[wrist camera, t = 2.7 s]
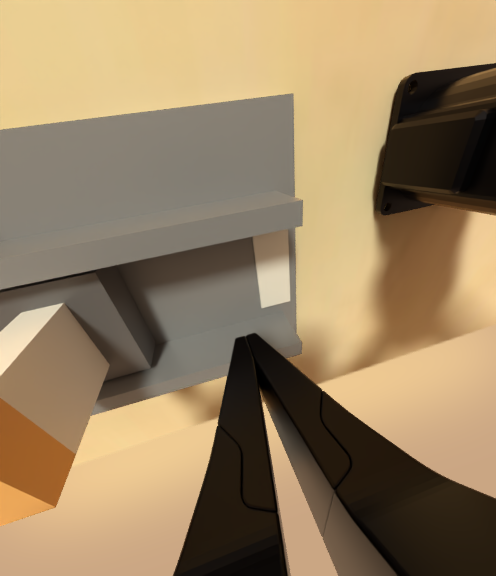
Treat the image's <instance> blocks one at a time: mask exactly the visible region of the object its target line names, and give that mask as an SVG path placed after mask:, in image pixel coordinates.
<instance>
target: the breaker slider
mask: <svg viewBox="0 0 496 576" xmlns="http://www.w3.org/2000/svg"><path fill="white" fill-rule="evenodd" d="M155 343H156V342H155V340H154V338H153V336H152V334H151V332H150V330H149V328H148V327H147V325H146V323H145V321H144V319H143V317H142V315H141V313H140V311H139V309H138V307H137V305H136V303H135V301H134V299H133V297H132V295H131V294H130V292H129V290H128V288H127V286H126V284H125V282H124V280H123V278H122V276H121V274H120V272H119V270H118V268H117V266H116V265H115V266H110V267H105V268H100V269H96V270H91V271H86V272H81V273H77V274H72V275H67V276H63V277H58V278H53V279H48V280H44V281H39V282H34V283H29V284H25V285H20V286H15V287H10V288H6V289H1V290H0V526H2V525H5V524H8V523H11V522H14V521H17V520H20V519H23V518H26V517H29V516H32V515H35V514H38V513H41V512H44V511H46V510H49V509H52V508H55V507H56V505H57V502H58V500H59V497H60V495H61V492H62V490H63V487H64V484H65V482H66V479H67V476H68V474H69V471H70V469H71V466H72V463H73V461H74V458H75V455H76V453H77V450H78V448H79V445H80V442H81V440H82V437H83V434H84V432H85V429H86V426H87V424H88V421H89V419H90V416H91V413H92V411H93V408H94V405H95V403H96V400H97V398H98V395H99V392H100V390H101V387H102V384H103V382H104V381H106V380H110V379H113V378H117V377H120V376H124V375H128V374H131V373H135V372H139V371H142V370H146V369H149V368H151V365H152V360H153V354H154V348H155Z"/></svg>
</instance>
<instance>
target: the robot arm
mask: <svg viewBox="0 0 496 576" xmlns="http://www.w3.org/2000/svg"><path fill="white" fill-rule="evenodd" d="M409 84H410V91H409V92H408V87H409ZM385 205H386V207H385V208H384V206H385ZM431 205H441V206H446V207H452V208H457V209H463V210H468V211H474V212H479V213H485V214H490V215H496V63H494V64H485V65H477V66H469V67H461V68H452V69H444V70H436V71H427V72H419V73H414V74H412V75H409V76H407V77H405V78H403V79H402V80H401V82H400V84H399V85H398V89H397V93H396V98H395V104H394V109H393V115H392V120H391V126H390V131H389V137H388V142H387V148H386V153H385V159H384V164H383V170H382V175H381V181H380V186H379V192H378V197H377V203H376V212H377V213H378V214H381V215H390V214H394V213H399V212H403V211H408V210H413V209H417V208H422V207H427V206H431ZM259 388H260V389H259ZM260 391H261V394H262V397H263V399H264V401H265V404H266V406H267V408H268V411H269V413H270V415H271V418H272V420H273V422H274V424H275V427H276V430H277V432H278V434H279V437H280V439H281V441H282V444H283V446H284V448H285V451H286V453H287V455H288V458H289V460H290V463H291V465H292V467H293V469H294V472H295V474H296V477H297V479H298V481H299V484H300V486H301V488H302V491H303V493H304V495H305V498H306V500H307V503H308V505H309V507H310V510H311V512H312V514H313V517H314V519H315V521H316V523H317V526H318V528H319V531H320V533H321V536H322V537H323V540H324V543H325V545H326V547H327V550H328V552H329V554H330V557H331V559H332V561H333V564H334V566H335V569H336V571H337V573H338V576H496V498H493V497H491V496H488V495H486V494H484V493H481V492H479V491H476V490H474V489H471V488H469V487H466V486H464V485H462V484H459V483H457V482H455V481H452V480H450V479H448V478H446V477H444V476H442V475H440V474H438V473H436V472H435V471H433V470H431V469H430V468H428V467H426V466H425V465H423V464H422V463H420V462H419V461H417V460H416V459H414V458H412V457H411V456H410V455H409V454H407V453H405V452H404V451H403V450H401V449H400V448H399V447H397V446H396V445H394V444H393V443H392V442H390V441H389V440H387V439H386V438H384V437H383V436H382V435H380V434H379V433H377V432H376V431H375V430H373V429H371V428H370V427H369V426H368V425H366V424H365V423H363V422H362V421H361V420H359V419H358V418H357V417H355V416H354V415H353V414H351V413H350V412H348V411H347V410H346V409H345V408H344V407H342V406H341V405H340V404H339V403H337V402H336V401H335V400H334V399H333V398H331V397H330V396H329V395H328V394H327V393H326V392H324V391H322V389H321V388H320V387H319V386H317V385H316V384H315V383H314V382H313V381H312V380H310V379H309V378H308V377H307V376H306V375H305V374H303V373H302V372H301V371H300V370H299V369H298V368H297V367H295V366H294V365H293V364H292V363H291V362H290V361H288V360H287V359H286V358H285V357H284V356H283V355H281V354H280V353H279V352H278V351H277V350H276V349H274V348H273V347H272V346H271V345H270V344H269V343H268V342H266V341H265V340H264V339H263V338H262V337H261V336H259V335H258V334H257V333H251V334H248V335H246V336H240V337H237V338H235V341H234V346H233V351H232V356H231V361H230V366H229V371H228V375H227V380H226V385H225V390H224V395H223V400H222V405H221V410H220V415H219V419H218V426H217V429H216V433H215V438H214V443H213V447H212V452H211V456H210V460H209V463H208V467H207V471H206V474H205V478H204V481H203V484H202V487H201V491H200V494H199V497H198V500H197V503H196V506H195V510H194V513H193V516H192V519H191V522H190V526H189V529H188V532H187V535H186V538H185V542H184V545H183V548H182V551H181V554H180V557H179V560H178V563H177V566H176V569H175V572H174V574H173V576H291V575H290V569H289V563H288V557H287V552H286V545H285V539H284V533H283V527H282V521H281V515H280V509H279V503H278V496H277V490H276V484H275V478H274V473H273V466H272V460H271V454H270V448H269V442H268V436H267V430H266V425H265V418H264V412H263V407H262V400H261V394H260Z"/></svg>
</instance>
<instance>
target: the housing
mask: <svg viewBox="0 0 496 576" xmlns="http://www.w3.org/2000/svg"><path fill="white" fill-rule="evenodd" d="M302 216H303V200H301V199H298V198H295V181H294V105H293V94H285V95H277V96H269V97H261V98H253V99H245V100H237V101H228V102H220V103H212V104H204V105H196V106H188V107H180V108H172V109H164V110H156V111H148V112H140V113H132V114H124V115H116V116H108V117H100V118H92V119H83V120H75V121H67V122H59V123H51V124H43V125H35V126H27V127H19V128H11V129H3V130H0V290H1V289H6V288H10V287H15V286H20V285H25V284H29V283H34V282H39V281H44V280H48V279H53V278H58V277H63V276H67V275H72V274H77V273H81V272H86V271H91V270H96V269H100V268H105V267H110V266H115V265H116V266H117V268H118V270H119V272H120V274H121V276H122V278H123V280H124V282H125V284H126V286H127V288H128V290H129V292H130V294H131V295H132V297H133V299H134V301H135V303H136V305H137V307H138V309H139V311H140V313H141V315H142V317H143V319H144V321H145V323H146V325H147V327H148V328H149V330H150V332H151V334H152V336H153V338H154V340H155V342H156V343H155V348H154V354H153V360H152V365H151V368H149V369H146V370H142V371H139V372H135V373H131V374H128V375H124V376H120V377H117V378H113V379H110V380H106V381H104V382H103V384H102V387H101V390H100V392H99V395H98V398H97V400H96V403H95V405H94V408H93V411H92V413H91V416H92V415H95V414H98V413H102V412H105V411H109V410H112V409H116V408H119V407H122V406H126V405H129V404H133V403H136V402H139V401H143V400H146V399H150V398H153V397H156V396H160V395H163V394H167V393H170V392H173V391H177V390H180V389H184V388H187V387H190V386H194V385H197V384H201V383H204V382H207V381H211V380H214V379H218V378H221V377H224V376H227V375H228V371H229V366H230V361H231V356H232V351H233V346H234V341H235V338H237V337H240V336H246V335H248V334H251V333H257V334H258V335H259V336H261V337H262V338H263V339H264V340H265V341H266V342H268V343H269V344H270V345H271V346H272V347H273V348H274V349H276V350H277V351H278V352H279V353H280V354H281V355H283V356H284V357H285V358H289V357H293V356H296V355H299V354H302V342H301V340H300V339H299V337H298V335H297V334H296V258H295V227H300V226H302Z"/></svg>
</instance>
